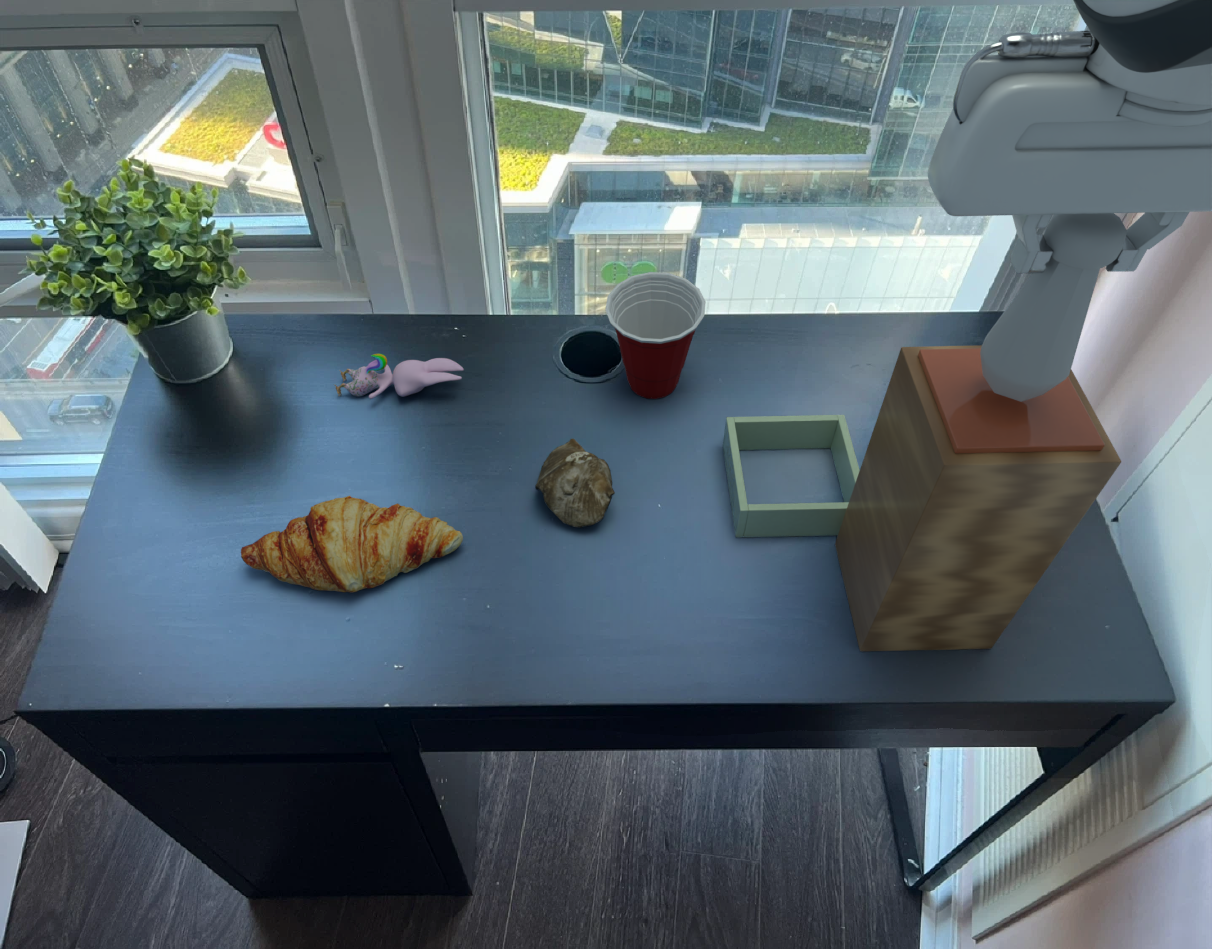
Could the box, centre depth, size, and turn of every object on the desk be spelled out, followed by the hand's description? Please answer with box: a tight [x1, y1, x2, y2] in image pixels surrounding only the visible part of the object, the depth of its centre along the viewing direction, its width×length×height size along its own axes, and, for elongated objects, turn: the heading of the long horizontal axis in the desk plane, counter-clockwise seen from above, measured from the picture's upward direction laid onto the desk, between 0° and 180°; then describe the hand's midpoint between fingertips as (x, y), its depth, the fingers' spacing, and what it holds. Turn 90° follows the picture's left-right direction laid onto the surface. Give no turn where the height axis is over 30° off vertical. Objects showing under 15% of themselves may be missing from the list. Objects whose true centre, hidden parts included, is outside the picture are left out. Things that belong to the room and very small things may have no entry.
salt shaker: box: [980, 213, 1127, 402], centre depth 54 cm, size 6×6×13 cm
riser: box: [834, 344, 1122, 652], centre depth 70 cm, size 12×12×26 cm
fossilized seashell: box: [534, 438, 616, 529], centre depth 87 cm, size 8×7×10 cm
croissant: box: [240, 495, 464, 593], centre depth 82 cm, size 21×10×8 cm, turn 98°
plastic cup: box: [604, 271, 707, 400], centre depth 95 cm, size 11×11×12 cm
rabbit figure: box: [333, 353, 465, 400], centre depth 97 cm, size 6×6×15 cm
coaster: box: [918, 348, 1105, 453], centre depth 60 cm, size 10×10×1 cm
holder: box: [722, 414, 860, 538], centre depth 87 cm, size 13×13×4 cm
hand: (1071, 267), depth 51 cm, fingers closed on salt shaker, 4 cm apart
